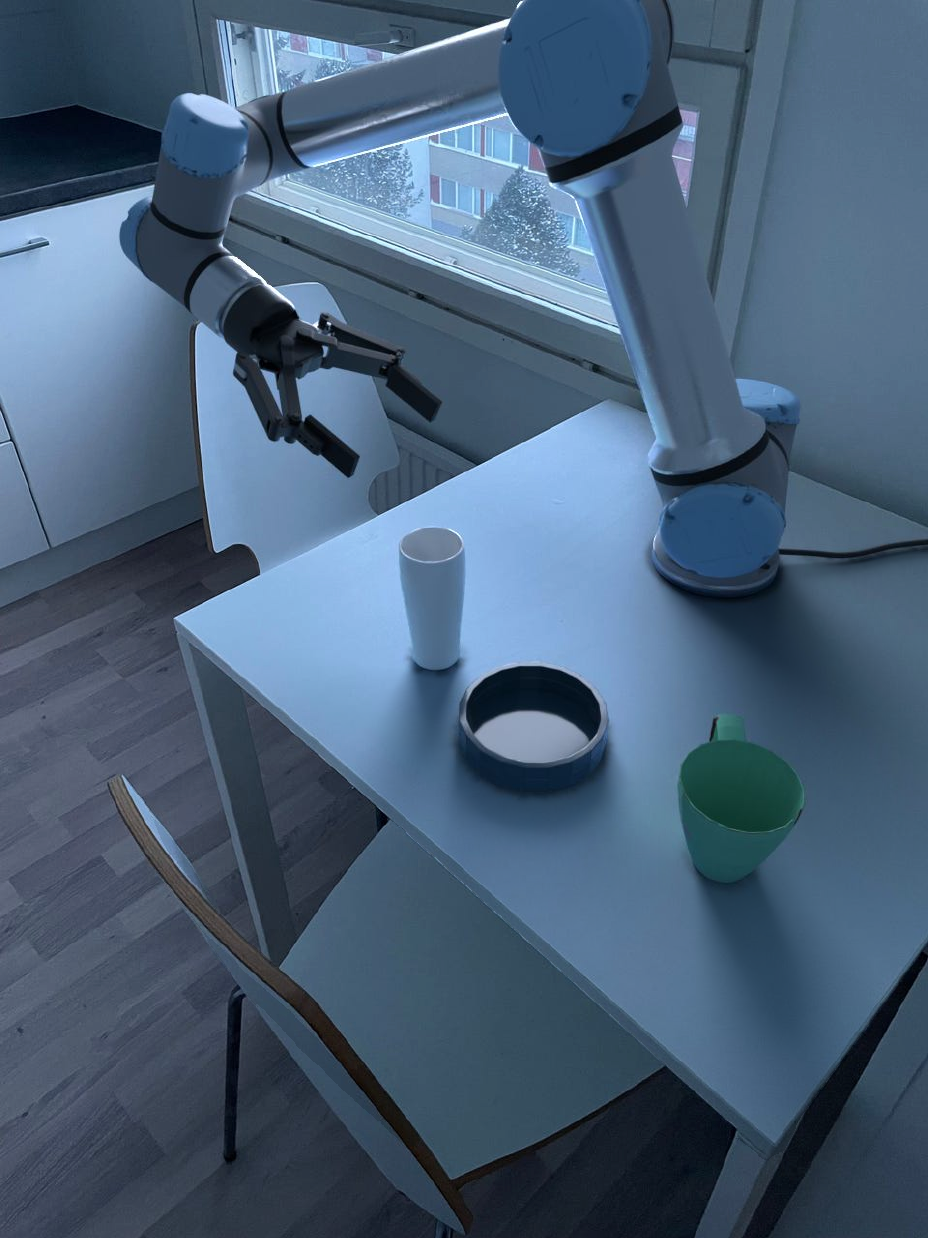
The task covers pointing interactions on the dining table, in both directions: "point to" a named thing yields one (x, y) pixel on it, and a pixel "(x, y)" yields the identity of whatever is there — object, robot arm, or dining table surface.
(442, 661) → the drinking glass
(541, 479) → the dining table surface
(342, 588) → the dining table surface
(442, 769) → the dining table surface
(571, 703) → the round dark tray
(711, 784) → the mug
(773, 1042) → the dining table surface
